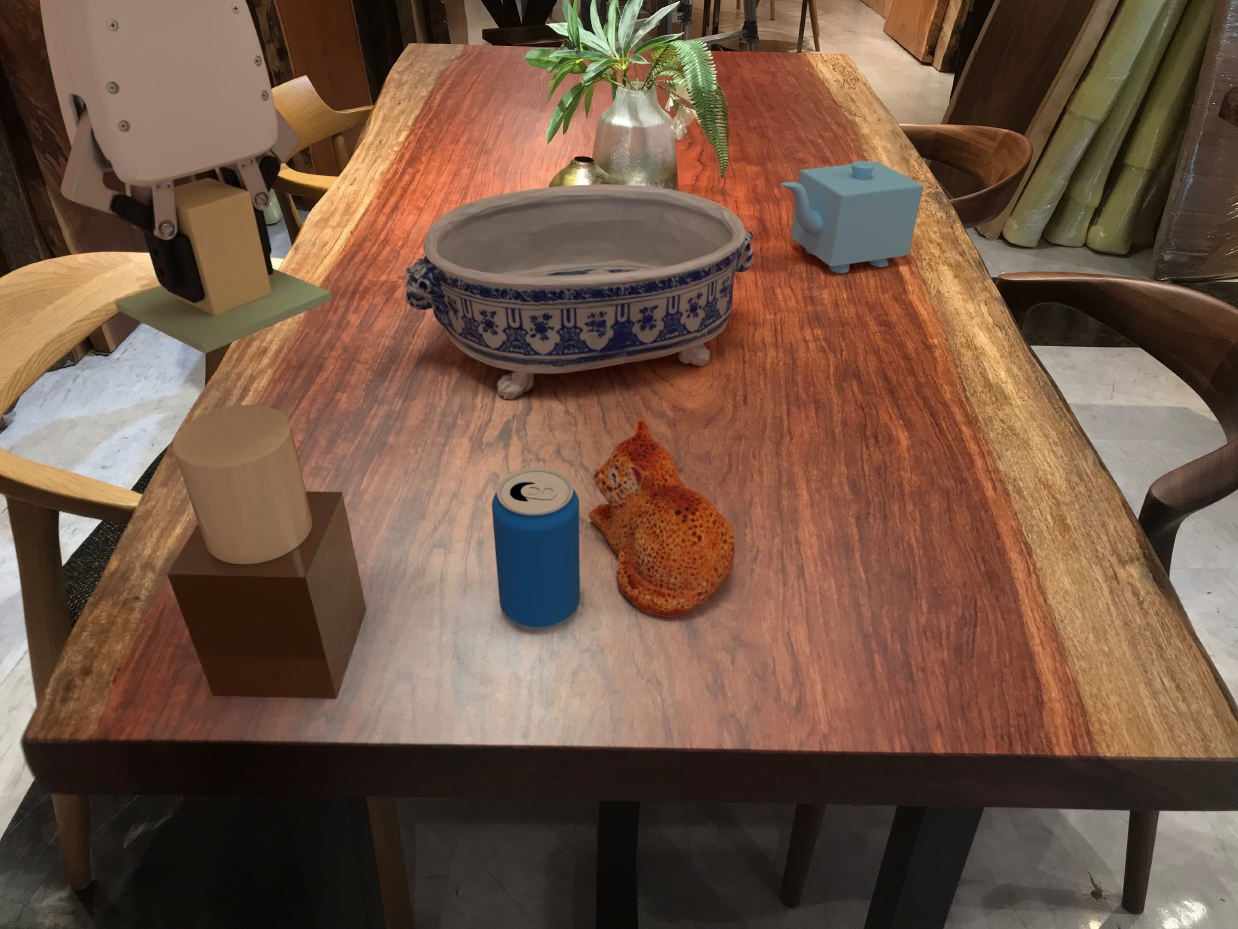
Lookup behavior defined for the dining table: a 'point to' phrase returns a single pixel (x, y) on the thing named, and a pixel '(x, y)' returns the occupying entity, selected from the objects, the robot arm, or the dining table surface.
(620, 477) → the figurine
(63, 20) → the robot arm
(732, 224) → the decorative bowl
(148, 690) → the dining table surface
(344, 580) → the cylinder on cube
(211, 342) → the block on board
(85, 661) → the dining table surface
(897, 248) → the teapot
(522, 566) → the beverage can
